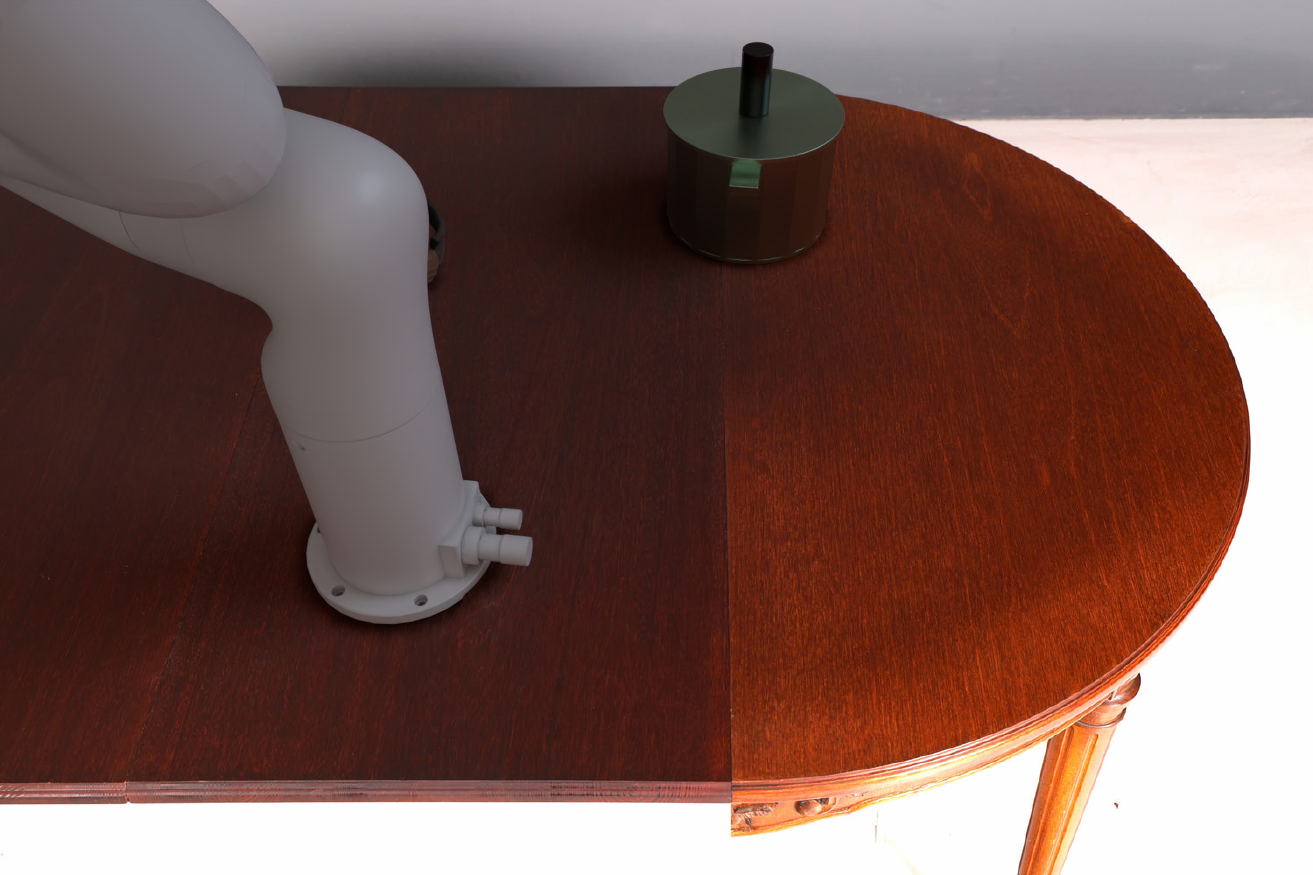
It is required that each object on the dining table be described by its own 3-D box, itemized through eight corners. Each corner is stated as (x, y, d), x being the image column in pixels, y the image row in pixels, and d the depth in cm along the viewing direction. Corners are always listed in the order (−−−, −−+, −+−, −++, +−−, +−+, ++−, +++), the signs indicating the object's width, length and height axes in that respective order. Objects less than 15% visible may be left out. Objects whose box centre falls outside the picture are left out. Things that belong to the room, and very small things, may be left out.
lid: (844, 83, 95) (854, 12, 91) (841, 177, 85) (852, 103, 80) (675, 72, 97) (676, 2, 92) (651, 163, 86) (651, 89, 82)
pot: (826, 165, 104) (840, 65, 97) (820, 290, 91) (835, 186, 83) (681, 154, 106) (683, 55, 98) (654, 276, 92) (653, 172, 84)
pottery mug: (368, 229, 98) (399, 163, 92) (442, 297, 97) (478, 234, 92) (275, 272, 88) (304, 200, 83) (357, 346, 88) (391, 279, 83)
